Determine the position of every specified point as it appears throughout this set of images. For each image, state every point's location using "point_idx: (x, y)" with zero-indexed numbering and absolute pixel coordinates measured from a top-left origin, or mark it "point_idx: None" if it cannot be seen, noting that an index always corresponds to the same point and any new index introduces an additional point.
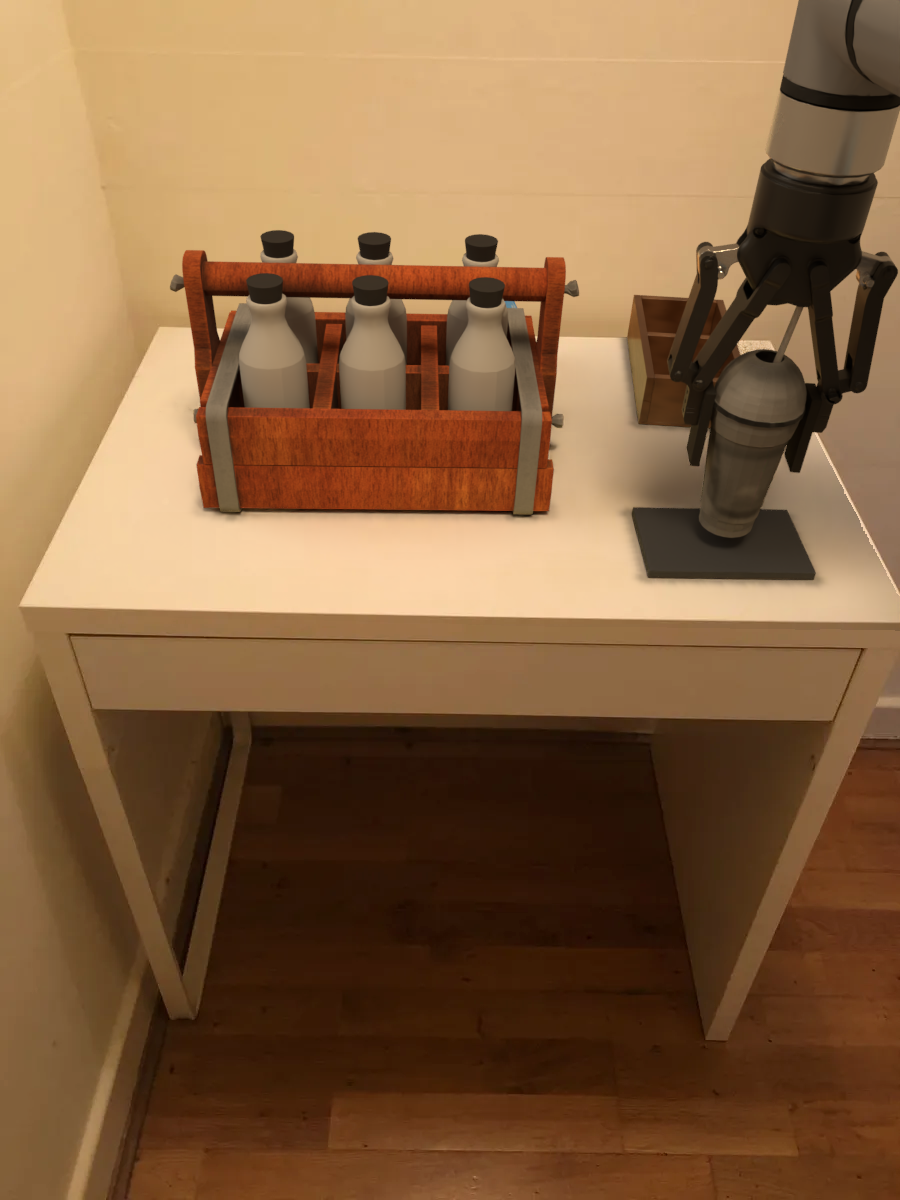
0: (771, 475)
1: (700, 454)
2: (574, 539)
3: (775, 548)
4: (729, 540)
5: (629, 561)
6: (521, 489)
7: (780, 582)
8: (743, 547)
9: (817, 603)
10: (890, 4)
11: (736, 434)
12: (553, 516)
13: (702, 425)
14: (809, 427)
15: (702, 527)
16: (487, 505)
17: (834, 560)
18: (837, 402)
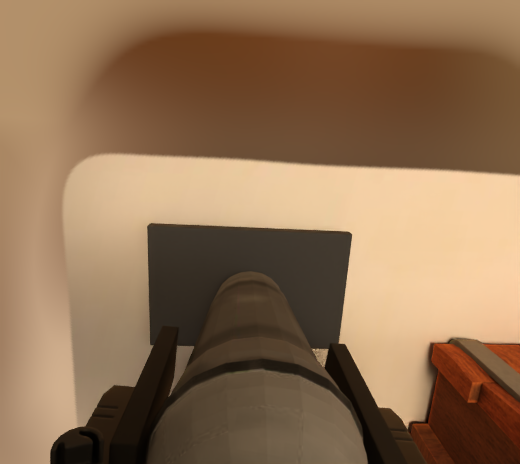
0: (214, 319)
1: (338, 357)
2: (412, 300)
3: (186, 272)
4: None
5: (361, 261)
6: (494, 358)
7: (192, 220)
8: (225, 274)
9: (157, 181)
10: None
11: (315, 362)
12: (424, 339)
13: (367, 398)
14: (145, 388)
15: None
16: (508, 348)
17: (113, 259)
18: (71, 431)
